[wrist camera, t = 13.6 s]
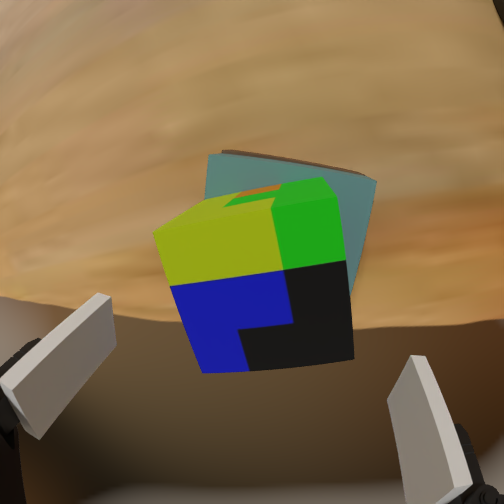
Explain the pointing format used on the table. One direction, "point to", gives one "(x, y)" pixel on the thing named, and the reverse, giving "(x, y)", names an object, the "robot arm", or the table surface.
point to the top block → (278, 172)
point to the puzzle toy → (261, 278)
